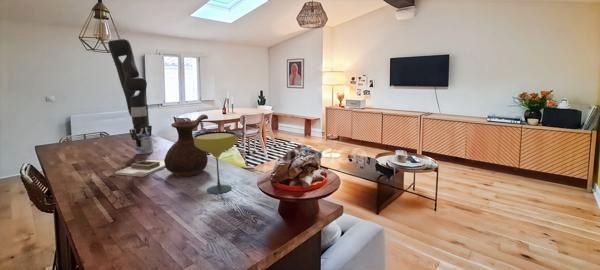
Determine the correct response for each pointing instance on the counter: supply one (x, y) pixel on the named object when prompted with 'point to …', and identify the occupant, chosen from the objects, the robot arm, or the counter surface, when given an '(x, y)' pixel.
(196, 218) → the counter surface
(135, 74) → the robot arm
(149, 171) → the board
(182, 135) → the jug
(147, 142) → the medicine box
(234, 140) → the cocktail glass
